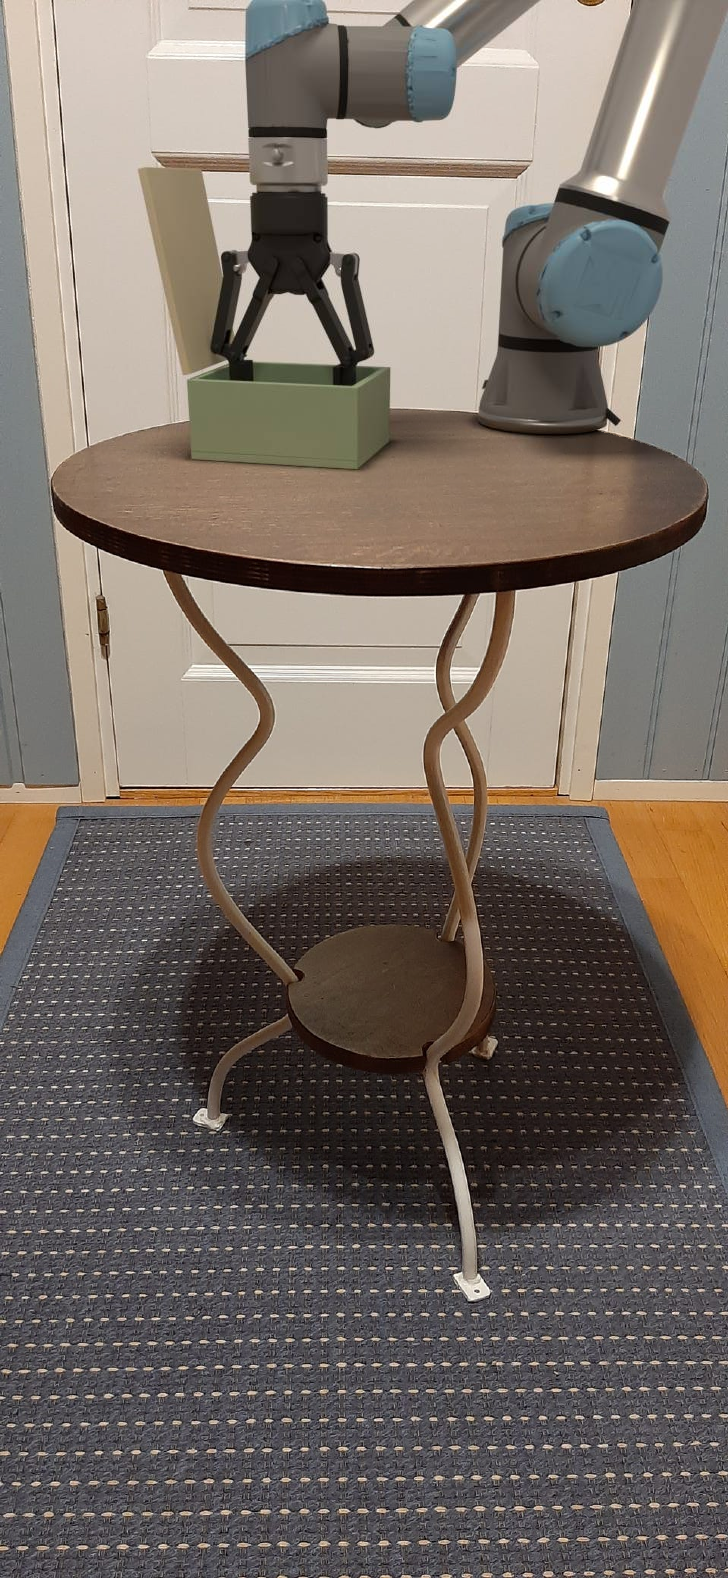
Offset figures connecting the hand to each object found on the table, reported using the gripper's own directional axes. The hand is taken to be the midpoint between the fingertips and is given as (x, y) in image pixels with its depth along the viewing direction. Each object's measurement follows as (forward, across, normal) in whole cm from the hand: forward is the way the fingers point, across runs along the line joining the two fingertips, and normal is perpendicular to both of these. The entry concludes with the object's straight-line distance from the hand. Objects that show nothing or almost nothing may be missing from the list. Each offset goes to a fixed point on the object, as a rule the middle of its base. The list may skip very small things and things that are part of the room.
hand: (293, 428), depth 122 cm
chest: (+2, 0, 0) cm, 2 cm away
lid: (-15, -10, 0) cm, 18 cm away
